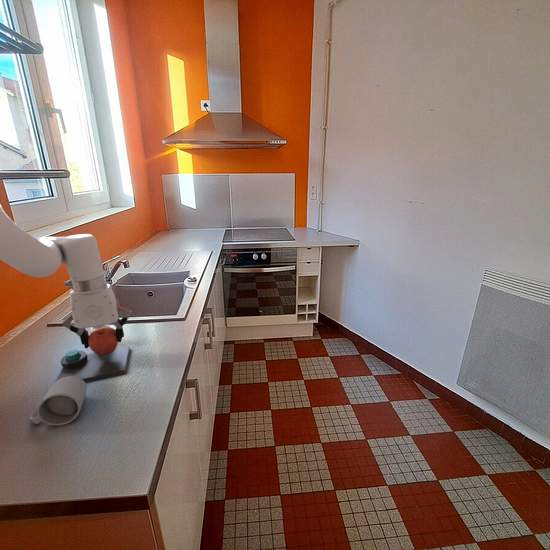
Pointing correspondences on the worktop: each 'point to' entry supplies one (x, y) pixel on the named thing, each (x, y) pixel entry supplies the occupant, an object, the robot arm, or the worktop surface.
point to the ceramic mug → (61, 402)
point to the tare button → (72, 355)
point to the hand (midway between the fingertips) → (104, 342)
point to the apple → (103, 340)
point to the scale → (96, 365)
